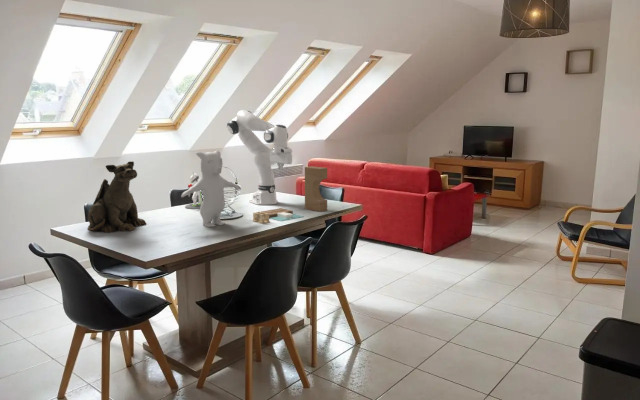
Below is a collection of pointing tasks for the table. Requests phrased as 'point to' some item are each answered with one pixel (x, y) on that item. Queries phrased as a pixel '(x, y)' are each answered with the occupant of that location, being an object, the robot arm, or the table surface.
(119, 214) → the sculpture
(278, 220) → the mat
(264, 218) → the oak rack
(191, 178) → the figurine
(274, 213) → the deck
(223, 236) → the table surface
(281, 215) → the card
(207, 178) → the toy bear
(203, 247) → the table surface
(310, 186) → the decorative block
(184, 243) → the table surface
